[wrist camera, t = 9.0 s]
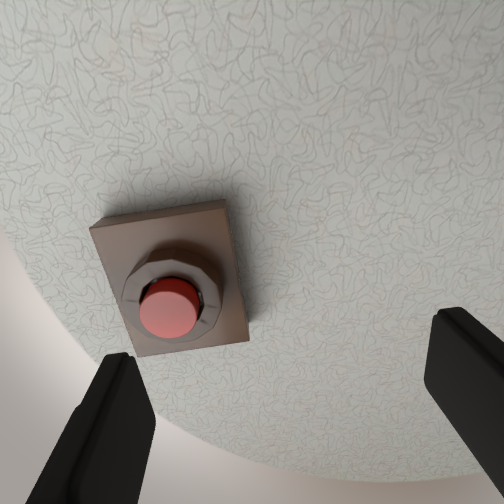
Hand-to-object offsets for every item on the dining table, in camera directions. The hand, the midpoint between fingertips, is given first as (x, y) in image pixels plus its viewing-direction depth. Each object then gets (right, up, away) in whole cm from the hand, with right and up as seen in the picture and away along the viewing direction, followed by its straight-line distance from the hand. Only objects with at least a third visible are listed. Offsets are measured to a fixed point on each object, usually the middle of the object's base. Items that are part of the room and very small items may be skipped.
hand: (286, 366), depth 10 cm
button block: (-7, +2, +15) cm, 16 cm away
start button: (-6, 0, +11) cm, 13 cm away
